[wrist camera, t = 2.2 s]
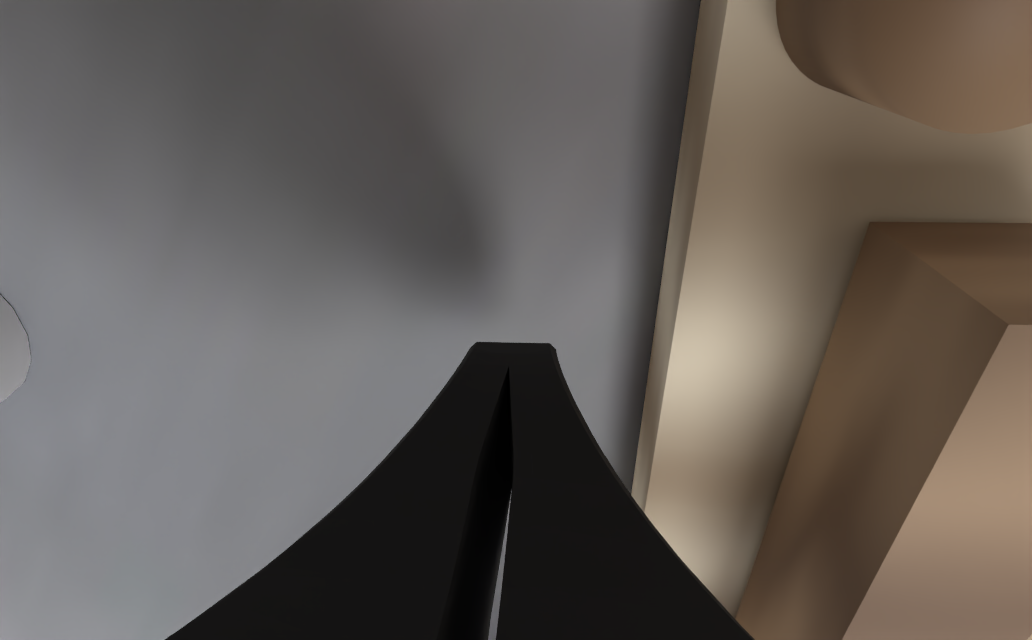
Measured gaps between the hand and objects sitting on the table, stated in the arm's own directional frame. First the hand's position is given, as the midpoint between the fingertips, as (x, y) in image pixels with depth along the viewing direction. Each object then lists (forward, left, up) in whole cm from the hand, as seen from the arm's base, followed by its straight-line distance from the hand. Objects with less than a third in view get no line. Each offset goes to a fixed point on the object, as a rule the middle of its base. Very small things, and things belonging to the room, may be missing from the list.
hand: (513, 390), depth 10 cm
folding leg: (-3, -7, -1) cm, 7 cm away
